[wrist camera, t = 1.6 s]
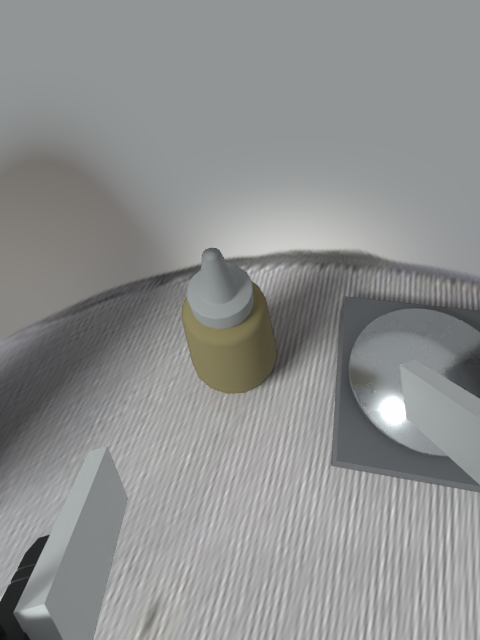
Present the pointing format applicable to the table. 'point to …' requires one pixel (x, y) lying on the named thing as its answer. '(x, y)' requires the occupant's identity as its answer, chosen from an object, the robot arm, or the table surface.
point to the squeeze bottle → (228, 326)
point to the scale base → (357, 432)
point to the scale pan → (404, 346)
